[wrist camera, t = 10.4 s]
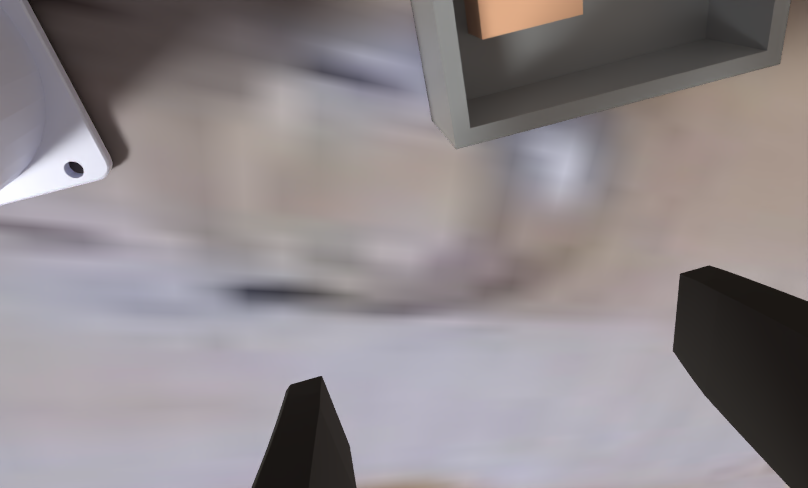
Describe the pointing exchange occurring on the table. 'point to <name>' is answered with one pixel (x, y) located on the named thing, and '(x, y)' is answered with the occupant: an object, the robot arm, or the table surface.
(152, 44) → the table surface
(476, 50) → the storage box
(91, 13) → the table surface
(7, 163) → the robot arm
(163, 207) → the table surface
